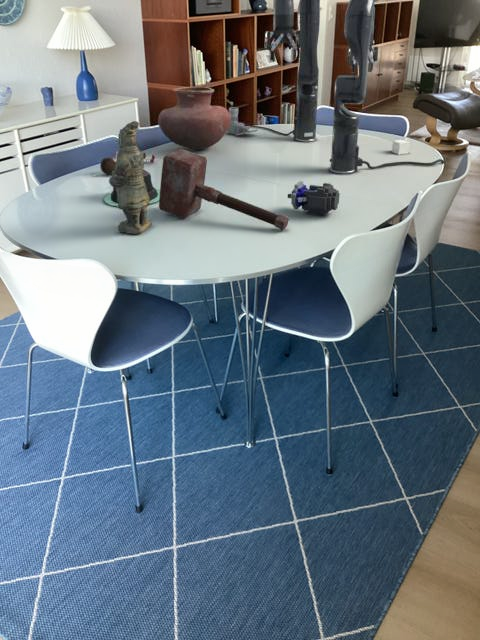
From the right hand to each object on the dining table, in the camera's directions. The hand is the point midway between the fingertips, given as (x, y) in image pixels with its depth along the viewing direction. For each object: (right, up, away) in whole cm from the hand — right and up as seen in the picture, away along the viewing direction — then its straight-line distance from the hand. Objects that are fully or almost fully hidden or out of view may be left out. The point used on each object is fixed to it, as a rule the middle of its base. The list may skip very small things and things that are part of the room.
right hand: (282, 60), depth 214 cm
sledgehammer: (-21, -70, -48) cm, 88 cm away
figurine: (-61, -41, +4) cm, 73 cm away
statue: (-47, -74, -52) cm, 102 cm away
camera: (-16, -11, +53) cm, 57 cm away
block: (+50, -30, +18) cm, 61 cm away
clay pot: (-36, -25, +30) cm, 53 cm away
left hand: (+38, +12, +37) cm, 55 cm away
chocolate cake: (-52, -59, -27) cm, 83 cm away
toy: (+6, -67, -44) cm, 80 cm away
